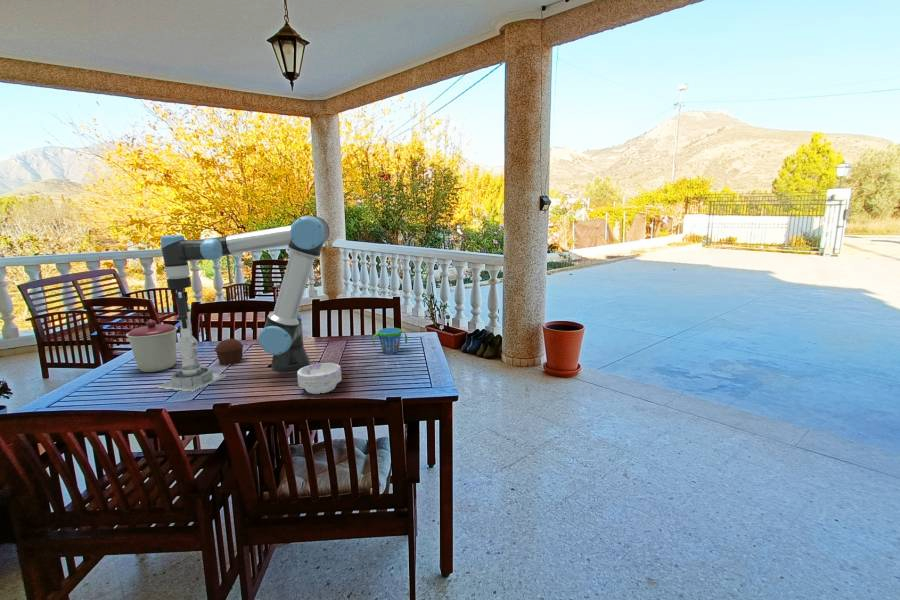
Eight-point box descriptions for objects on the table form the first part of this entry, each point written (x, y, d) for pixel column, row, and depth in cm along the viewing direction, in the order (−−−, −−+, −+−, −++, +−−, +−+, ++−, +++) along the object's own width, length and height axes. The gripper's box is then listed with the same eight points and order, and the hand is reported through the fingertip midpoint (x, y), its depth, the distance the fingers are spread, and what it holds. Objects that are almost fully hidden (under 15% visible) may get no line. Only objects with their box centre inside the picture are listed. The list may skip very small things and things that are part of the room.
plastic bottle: (203, 380, 170) (196, 329, 166) (183, 384, 166) (175, 332, 163) (202, 375, 175) (195, 326, 171) (182, 379, 172) (175, 329, 168)
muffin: (219, 359, 198) (216, 337, 197) (246, 356, 202) (243, 335, 200) (214, 367, 187) (211, 345, 185) (242, 364, 191) (240, 342, 189)
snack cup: (373, 356, 197) (372, 334, 195) (373, 349, 207) (372, 328, 205) (408, 354, 199) (407, 332, 197) (406, 347, 210) (406, 326, 208)
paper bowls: (317, 379, 171) (315, 359, 169) (350, 384, 165) (349, 364, 163) (289, 394, 157) (287, 373, 155) (324, 400, 151) (322, 378, 150)
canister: (184, 369, 186) (177, 320, 182) (132, 379, 176) (123, 327, 172) (180, 358, 201) (174, 313, 197) (132, 367, 190) (124, 319, 186)
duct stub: (225, 376, 176) (224, 367, 175) (192, 392, 161) (191, 381, 160) (193, 373, 181) (192, 364, 180) (158, 388, 166) (156, 378, 165)
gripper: (168, 274, 172) (177, 327, 176) (163, 282, 151) (173, 342, 155) (190, 273, 176) (198, 324, 180) (189, 279, 154) (198, 338, 158)
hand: (187, 332), depth 167 cm, fingers open, 13 cm apart
